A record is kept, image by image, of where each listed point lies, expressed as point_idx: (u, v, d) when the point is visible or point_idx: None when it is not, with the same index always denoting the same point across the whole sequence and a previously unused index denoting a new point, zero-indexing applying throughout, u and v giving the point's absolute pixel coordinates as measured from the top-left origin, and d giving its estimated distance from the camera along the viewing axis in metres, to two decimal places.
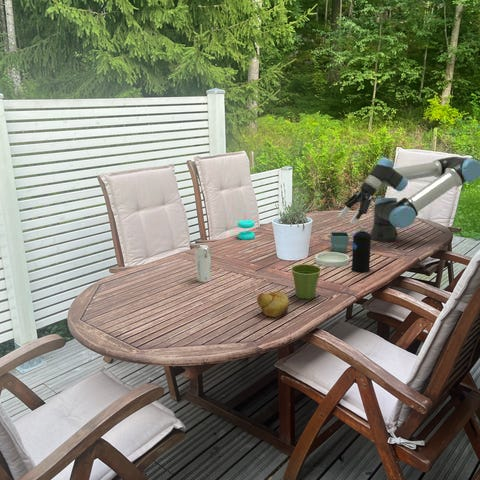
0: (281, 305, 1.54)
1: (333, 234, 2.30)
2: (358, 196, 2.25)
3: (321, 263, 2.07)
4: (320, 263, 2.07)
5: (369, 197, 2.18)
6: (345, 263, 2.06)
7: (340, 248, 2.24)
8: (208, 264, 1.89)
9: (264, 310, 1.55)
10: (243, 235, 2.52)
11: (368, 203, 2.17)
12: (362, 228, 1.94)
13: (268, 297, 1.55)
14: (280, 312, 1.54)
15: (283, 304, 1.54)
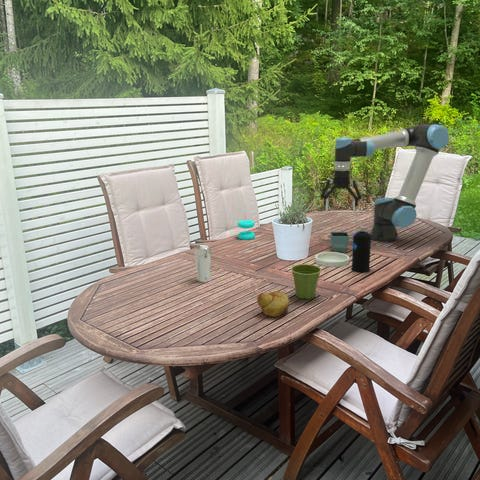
0: (280, 304, 1.54)
1: (333, 234, 2.30)
2: (337, 185, 2.18)
3: (321, 263, 2.07)
4: (320, 263, 2.07)
5: (355, 182, 2.15)
6: (345, 263, 2.06)
7: (340, 248, 2.24)
8: (208, 264, 1.89)
9: (264, 310, 1.55)
10: (243, 235, 2.52)
11: (357, 187, 2.16)
12: (362, 228, 1.94)
13: (268, 297, 1.55)
14: (280, 312, 1.54)
15: (283, 304, 1.55)
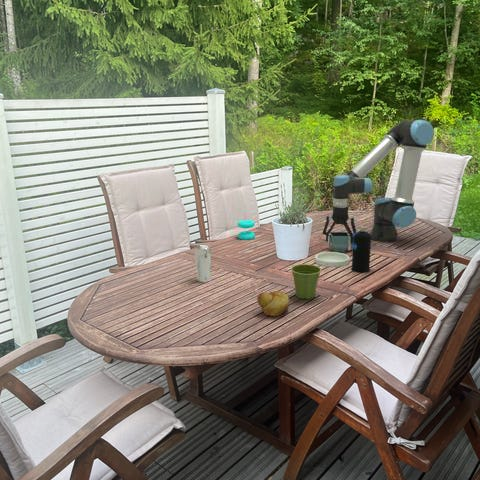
0: (280, 304, 1.54)
1: (333, 234, 2.30)
2: (337, 221, 2.23)
3: (321, 263, 2.07)
4: (320, 263, 2.07)
5: (353, 219, 2.20)
6: (345, 263, 2.06)
7: (340, 248, 2.24)
8: (208, 264, 1.89)
9: (264, 309, 1.56)
10: (243, 235, 2.52)
11: (354, 225, 2.22)
12: (362, 228, 1.94)
13: (268, 296, 1.56)
14: (280, 311, 1.54)
15: (283, 303, 1.55)
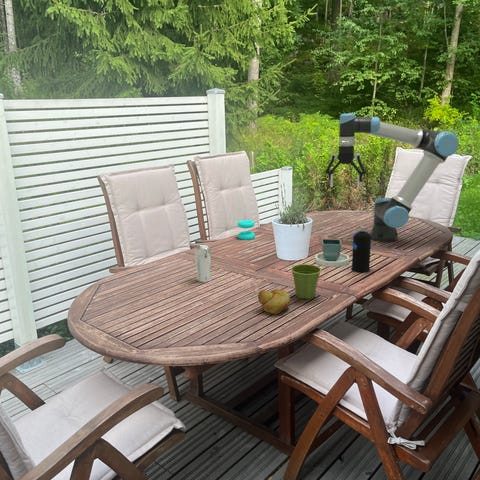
0: (280, 302, 1.56)
1: (325, 241, 2.14)
2: (342, 160, 2.23)
3: (321, 263, 2.07)
4: (320, 263, 2.07)
5: (359, 157, 2.20)
6: (345, 263, 2.06)
7: (332, 257, 2.08)
8: (208, 264, 1.89)
9: (264, 306, 1.58)
10: (243, 235, 2.52)
11: (361, 162, 2.21)
12: (362, 228, 1.94)
13: (268, 294, 1.58)
14: (279, 309, 1.56)
15: (282, 302, 1.57)
